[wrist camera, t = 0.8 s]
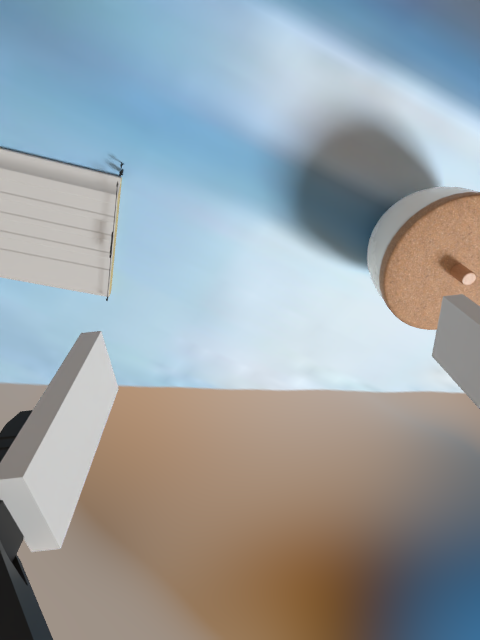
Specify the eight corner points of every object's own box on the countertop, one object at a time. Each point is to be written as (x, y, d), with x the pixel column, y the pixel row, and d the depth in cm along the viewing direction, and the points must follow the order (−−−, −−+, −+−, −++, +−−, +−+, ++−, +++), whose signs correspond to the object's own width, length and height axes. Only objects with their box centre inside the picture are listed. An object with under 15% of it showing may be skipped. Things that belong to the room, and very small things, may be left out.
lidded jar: (352, 298, 37) (392, 354, 29) (347, 188, 32) (394, 221, 24) (460, 275, 37) (530, 326, 29) (474, 160, 32) (566, 184, 23)
